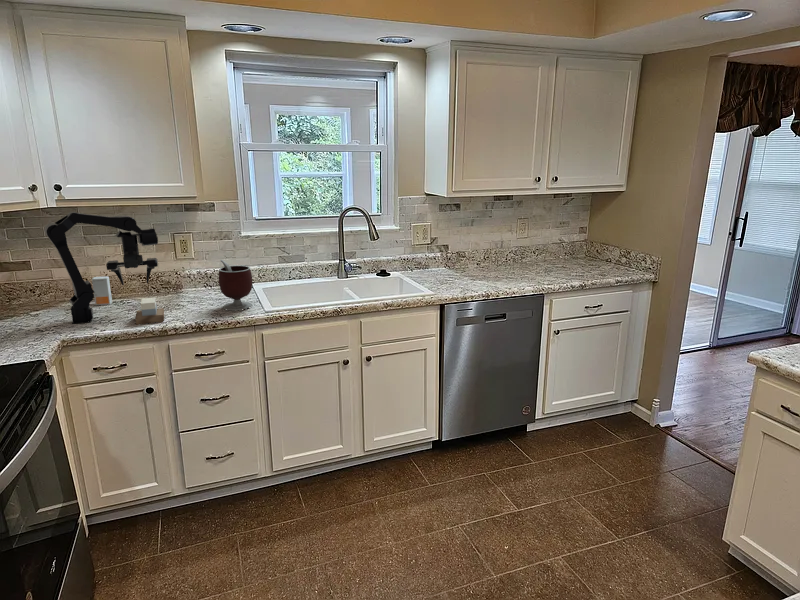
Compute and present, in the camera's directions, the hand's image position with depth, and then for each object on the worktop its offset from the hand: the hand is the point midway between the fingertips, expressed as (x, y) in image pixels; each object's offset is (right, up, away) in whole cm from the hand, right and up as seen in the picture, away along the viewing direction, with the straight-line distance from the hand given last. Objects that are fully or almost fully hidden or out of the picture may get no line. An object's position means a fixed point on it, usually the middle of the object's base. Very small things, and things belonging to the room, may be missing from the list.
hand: (135, 284), depth 221 cm
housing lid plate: (+10, -9, -9) cm, 16 cm away
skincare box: (-21, -8, +15) cm, 27 cm away
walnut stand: (+10, -15, -7) cm, 19 cm away
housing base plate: (+10, -12, -8) cm, 17 cm away
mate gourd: (+39, -10, +11) cm, 41 cm away
